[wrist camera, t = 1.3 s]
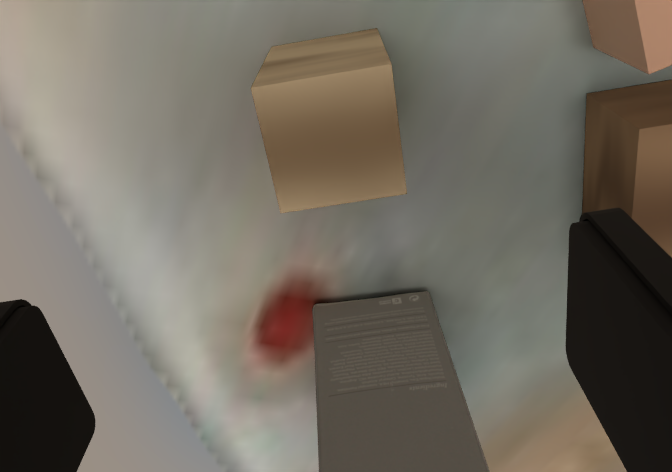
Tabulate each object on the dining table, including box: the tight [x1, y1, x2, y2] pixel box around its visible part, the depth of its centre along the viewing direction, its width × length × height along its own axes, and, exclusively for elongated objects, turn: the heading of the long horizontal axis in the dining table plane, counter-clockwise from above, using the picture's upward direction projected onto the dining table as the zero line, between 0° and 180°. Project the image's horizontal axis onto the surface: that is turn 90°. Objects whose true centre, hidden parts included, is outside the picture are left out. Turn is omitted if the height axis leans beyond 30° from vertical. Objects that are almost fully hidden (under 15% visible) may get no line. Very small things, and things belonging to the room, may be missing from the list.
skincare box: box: [312, 291, 490, 472], centre depth 25 cm, size 8×7×16 cm
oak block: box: [251, 28, 407, 213], centre depth 22 cm, size 4×4×7 cm
